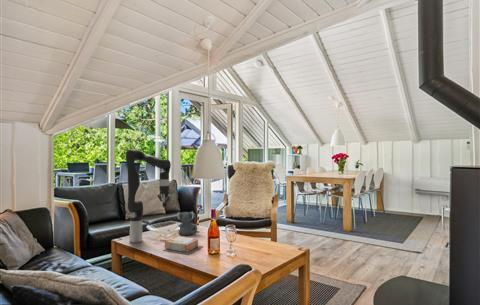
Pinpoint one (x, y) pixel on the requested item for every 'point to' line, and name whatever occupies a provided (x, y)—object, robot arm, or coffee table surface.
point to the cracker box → (181, 244)
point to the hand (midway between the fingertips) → (164, 207)
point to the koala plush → (186, 223)
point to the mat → (183, 251)
